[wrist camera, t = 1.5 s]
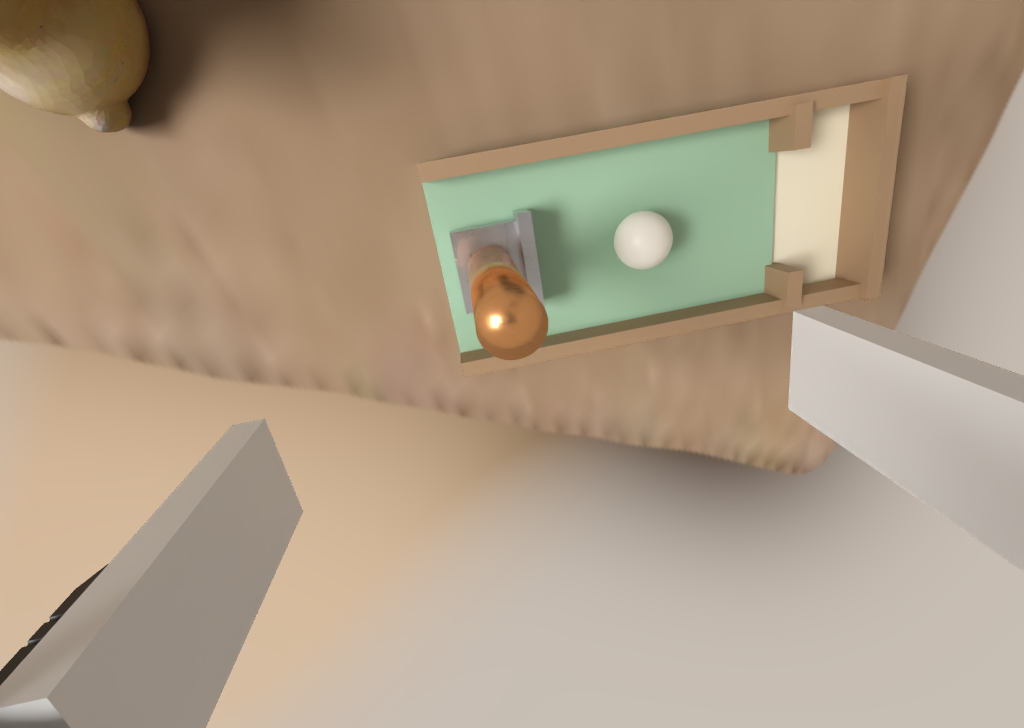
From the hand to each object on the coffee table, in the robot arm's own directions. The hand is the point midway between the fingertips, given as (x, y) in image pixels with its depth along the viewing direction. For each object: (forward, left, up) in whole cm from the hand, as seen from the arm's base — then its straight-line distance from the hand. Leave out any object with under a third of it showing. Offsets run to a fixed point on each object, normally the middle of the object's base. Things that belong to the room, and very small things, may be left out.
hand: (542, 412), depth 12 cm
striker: (0, 0, -20) cm, 20 cm away
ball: (0, +10, -19) cm, 21 cm away
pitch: (0, +11, -22) cm, 24 cm away
